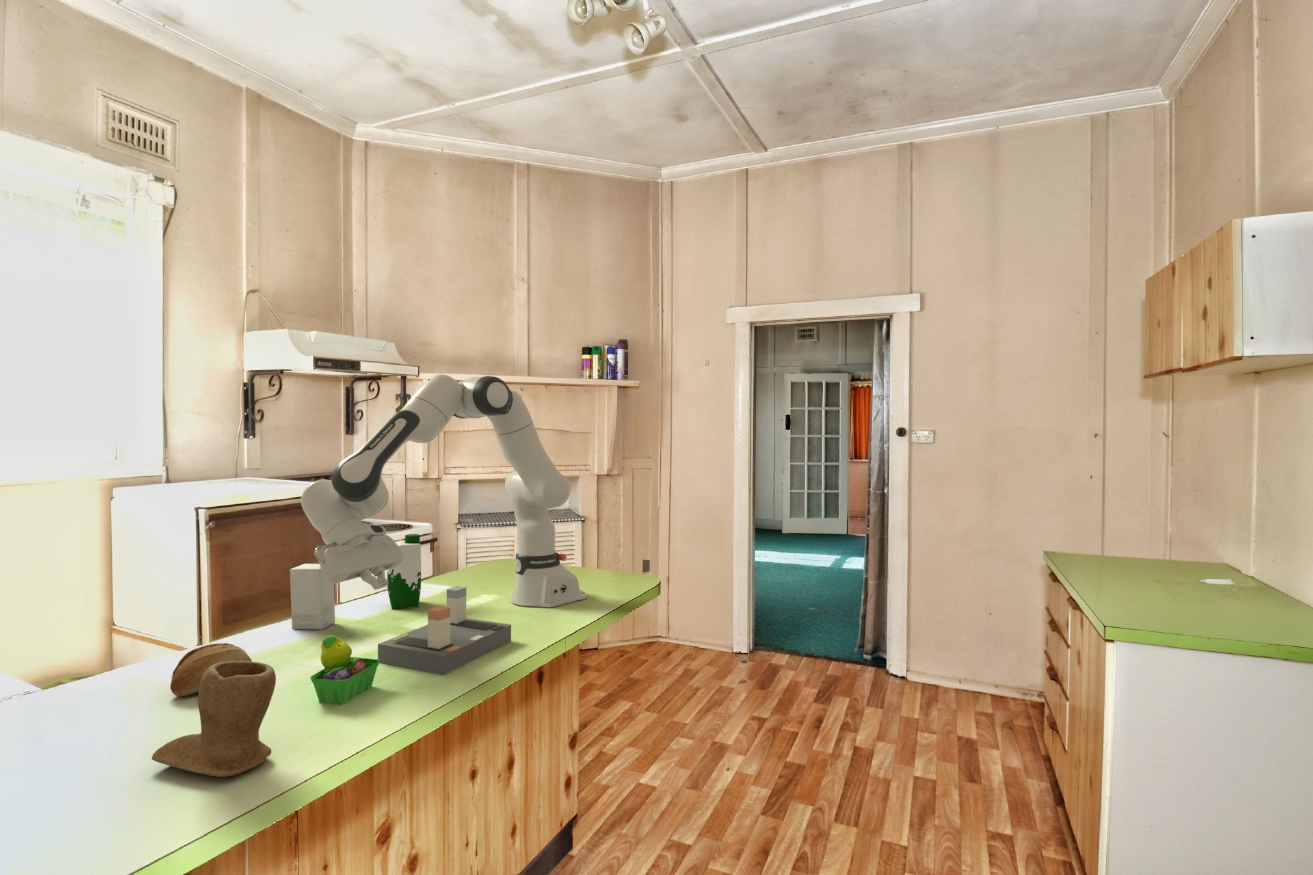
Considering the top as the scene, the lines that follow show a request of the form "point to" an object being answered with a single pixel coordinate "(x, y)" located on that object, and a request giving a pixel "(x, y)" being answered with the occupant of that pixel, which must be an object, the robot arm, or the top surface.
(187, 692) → the bread roll
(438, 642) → the switch
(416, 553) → the milk carton
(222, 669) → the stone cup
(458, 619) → the switch
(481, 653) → the console
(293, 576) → the skincare box
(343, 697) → the fruit basket
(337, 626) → the top surface
